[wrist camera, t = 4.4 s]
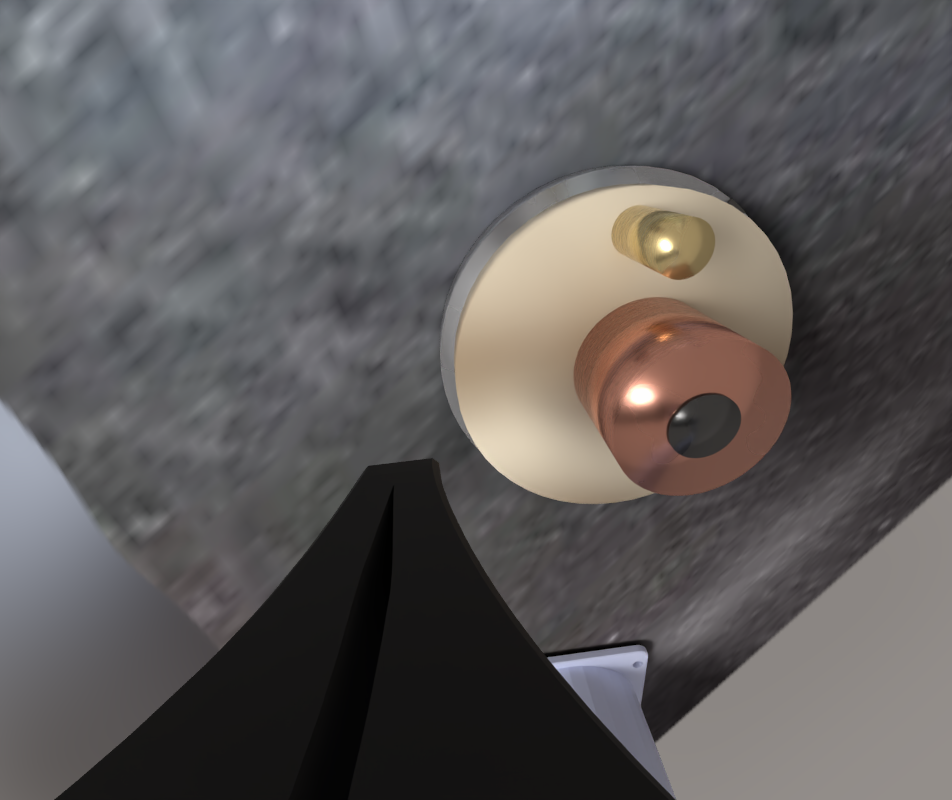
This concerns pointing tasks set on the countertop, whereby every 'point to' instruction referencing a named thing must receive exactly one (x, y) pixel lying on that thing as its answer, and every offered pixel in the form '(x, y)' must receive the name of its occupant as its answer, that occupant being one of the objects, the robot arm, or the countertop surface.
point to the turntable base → (518, 217)
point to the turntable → (583, 305)
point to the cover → (680, 396)
